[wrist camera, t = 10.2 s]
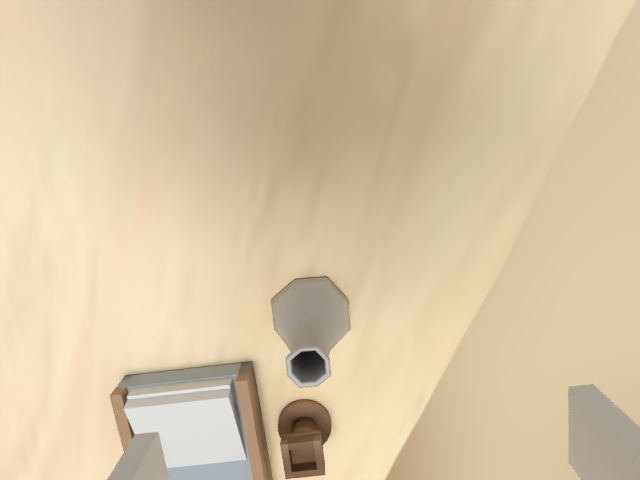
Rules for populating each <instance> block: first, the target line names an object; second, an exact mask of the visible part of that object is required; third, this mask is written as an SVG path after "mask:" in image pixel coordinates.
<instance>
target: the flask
mask: <svg viewBox="0 0 640 480" xmlns="http://www.w3.org/2000/svg"><path fill="white" fill-rule="evenodd" d="M271 304H272V312H273V321H274V330H275V331H276V332H277V334H278V335H279V336H280V337H281V338H282V340H283V341H284V342H285V344H286V345H287V347H288V348H289V350H290V351H291V353H290V354H289V355H288V356H287V357H286V366H287V375H288V377H289V378H290V379H291V380H292V381H293V382H294V383H295V384H296V385H297V386H298V387H299V388H302V387H315V386H318V385H320V384H321V383H322V382H323V381H325V380H326V379H327V378H328V377H330V376H331V370H330V358H329V356H328V355H329V353H330V350H331V349H332V348H333V347H334V346H335V345H336V344H337V342H338V341H339V340H340V339H341V338H342V337H343V336H344V335H345V334H346V333H347V332H348V331H349V330H350V320H349V306H348V299H347V298H346V297H345V296H344V295H343V294H342V293H341V292H340V291H339V290H338V288H337V287H336V286H335V285H334V284H333V283H332V282H331V281H330V280H329V279H328V278H327V277H320V278H308V279H295V280H294V281H292V282H291V283H290V284H289V285H288V286H287V287H285V288H284V289H283V290H282V291H281V292H280V293H278V294H277V295H276V296H275V297H274V298H273V299H271Z"/></svg>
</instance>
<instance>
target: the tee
mask: <svg viewBox="0 0 640 480" xmlns="http://www.w3.org/2000/svg"><path fill="white" fill-rule="evenodd" d="M278 432H279V435H280V437H281V443H280V446H281V452H282V458H283V464H284V471H285V477H286V479H291V478H300V477H310V476H319V475H325V461H324V454H323V447H322V445H323V444H324V443H325V442H326V441H327V439H328V438H329V435H330V432H331V420H330V416H329V413H328V412H327V410H326V409H325V408H324V407H323V406H322V405H321V404H319V403H317V402H315V401H312V400H297V401H294V402H292V403H290V404H289V405H287V406H286V407H285V408H284V409H283V411H282V412H281V414H280V417H279V423H278Z"/></svg>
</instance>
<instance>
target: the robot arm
mask: <svg viewBox="0 0 640 480" xmlns="http://www.w3.org/2000/svg"><path fill="white" fill-rule="evenodd" d="M569 463H570V465H571V466H572V467H573V469H574V470H575V471H576V473H577V474H578V475H579V477H580V478H581V479H582V480H640V427H639V426H638V425H637V424H635V422H633V421H632V420H631V419H630V418H629V417H628V416H627V415H626V414H625V413H624V412H623V411H622V410H620V409H619V408H618V407H617V406H616V405H615V404H614V403H613V402H612V401H611V400H610V399H609V398H607V397H606V396H605V395H604V394H603V393H602V392H601V391H600V390H599V389H598V388H597V387H596V386H594V385H593V384H590V385H581V386H572V387H569ZM108 480H169V476H168V471H167V467H166V463H165V458H164V454H163V449H162V445H161V441H160V436H159V432H151V433H142V434H135V435H134V437H133V439H132V440H131V442H130V443H129V445H128V447H127V448H126V450H125V452H124V453H123V455H122V457H121V458H120V460H119V462H118V463H117V465H116V466H115V468H114V470H113V471H112V473H111V475H110V476H109V478H108Z"/></svg>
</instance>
